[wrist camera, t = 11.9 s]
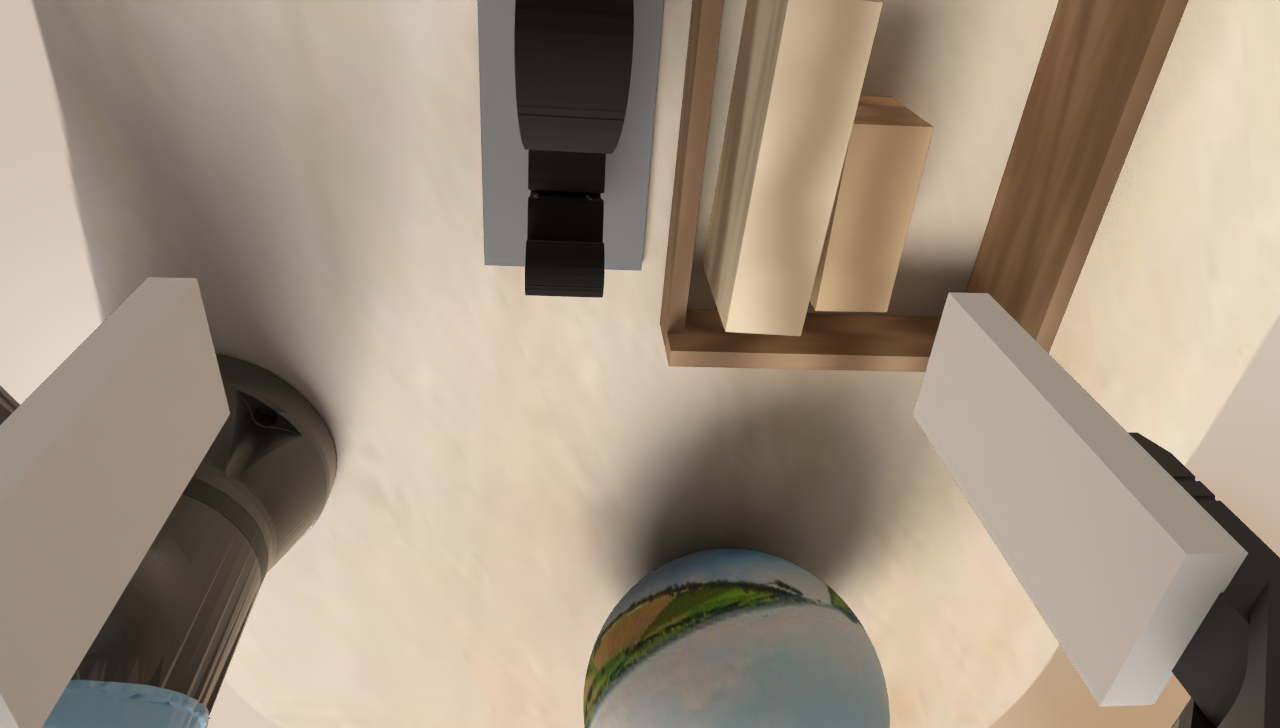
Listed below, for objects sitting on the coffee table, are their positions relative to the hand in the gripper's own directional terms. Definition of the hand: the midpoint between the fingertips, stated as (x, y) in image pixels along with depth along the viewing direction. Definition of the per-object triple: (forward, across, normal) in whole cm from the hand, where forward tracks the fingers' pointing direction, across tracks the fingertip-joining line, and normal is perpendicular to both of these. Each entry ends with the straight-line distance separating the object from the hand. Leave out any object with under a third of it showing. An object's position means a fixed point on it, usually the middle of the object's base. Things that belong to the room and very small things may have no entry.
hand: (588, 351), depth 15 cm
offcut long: (+31, +10, -4) cm, 33 cm away
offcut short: (+31, +15, -7) cm, 35 cm away
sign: (+30, 0, +1) cm, 30 cm away
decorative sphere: (+31, +12, -40) cm, 52 cm away
